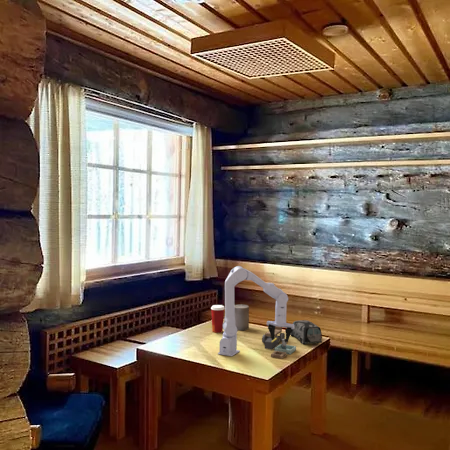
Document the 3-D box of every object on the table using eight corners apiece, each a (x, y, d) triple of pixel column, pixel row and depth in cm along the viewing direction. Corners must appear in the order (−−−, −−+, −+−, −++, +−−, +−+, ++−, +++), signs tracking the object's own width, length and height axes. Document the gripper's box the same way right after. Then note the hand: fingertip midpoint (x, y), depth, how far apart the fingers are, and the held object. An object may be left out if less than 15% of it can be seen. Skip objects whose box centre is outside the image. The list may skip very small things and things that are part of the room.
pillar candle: (248, 326, 304) (248, 302, 303) (249, 330, 294) (249, 305, 293) (232, 326, 304) (232, 302, 303) (232, 330, 294) (232, 305, 293)
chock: (272, 350, 258) (272, 341, 258) (264, 348, 260) (264, 340, 260) (276, 346, 264) (277, 337, 264) (269, 345, 266) (269, 336, 266)
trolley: (276, 345, 265) (276, 332, 264) (261, 343, 269) (262, 330, 268) (284, 340, 276) (285, 327, 275) (270, 337, 280) (270, 325, 279)
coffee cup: (227, 331, 293) (227, 305, 292) (219, 334, 286) (220, 308, 285) (214, 328, 297) (215, 304, 296) (207, 332, 290) (207, 306, 289)
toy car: (304, 333, 291) (304, 316, 291) (322, 345, 267) (323, 327, 267) (287, 334, 288) (287, 317, 288) (304, 346, 264) (305, 328, 264)
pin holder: (282, 358, 243) (282, 355, 243) (270, 356, 246) (270, 353, 246) (286, 355, 249) (286, 352, 249) (275, 353, 252) (275, 350, 251)
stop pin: (285, 351, 253) (285, 340, 253) (281, 351, 254) (281, 339, 254) (287, 350, 255) (287, 338, 255) (282, 349, 256) (282, 338, 256)
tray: (290, 354, 250) (290, 350, 250) (274, 352, 254) (274, 348, 254) (295, 350, 258) (296, 346, 258) (280, 347, 262) (280, 343, 262)
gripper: (296, 314, 255) (295, 340, 256) (270, 311, 262) (269, 336, 262) (292, 317, 249) (291, 344, 250) (265, 314, 255) (264, 339, 256)
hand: (280, 340), depth 256 cm, fingers open, 7 cm apart
